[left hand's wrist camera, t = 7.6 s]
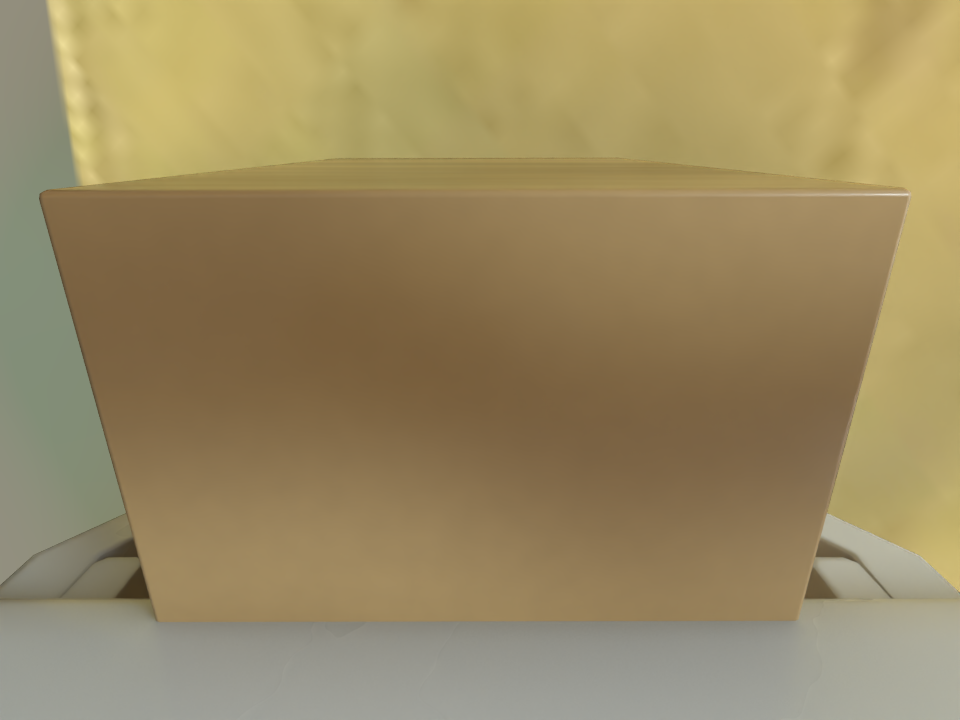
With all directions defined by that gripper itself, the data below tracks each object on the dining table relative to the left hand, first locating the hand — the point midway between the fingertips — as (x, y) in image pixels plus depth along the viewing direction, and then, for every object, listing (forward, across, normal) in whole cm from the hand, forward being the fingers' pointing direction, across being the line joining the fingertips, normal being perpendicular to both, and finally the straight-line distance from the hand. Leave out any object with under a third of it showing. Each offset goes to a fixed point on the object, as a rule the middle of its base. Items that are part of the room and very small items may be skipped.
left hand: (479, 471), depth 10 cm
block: (+3, 0, -32) cm, 32 cm away
